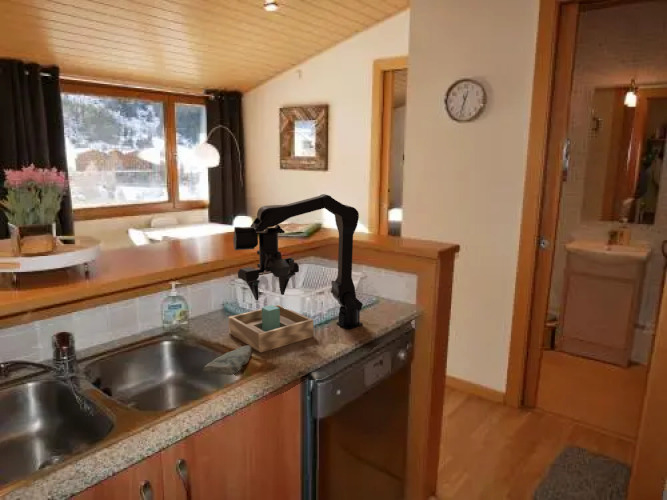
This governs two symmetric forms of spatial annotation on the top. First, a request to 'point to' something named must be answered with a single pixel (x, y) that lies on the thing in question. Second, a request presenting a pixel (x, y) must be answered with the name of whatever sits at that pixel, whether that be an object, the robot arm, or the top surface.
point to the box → (252, 334)
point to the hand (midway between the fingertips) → (269, 297)
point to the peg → (270, 318)
